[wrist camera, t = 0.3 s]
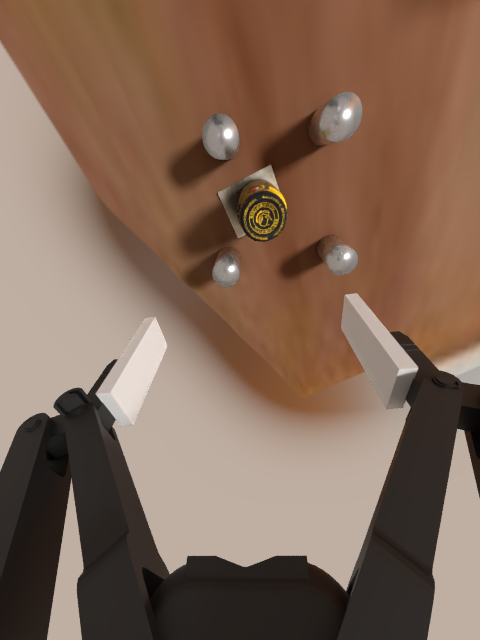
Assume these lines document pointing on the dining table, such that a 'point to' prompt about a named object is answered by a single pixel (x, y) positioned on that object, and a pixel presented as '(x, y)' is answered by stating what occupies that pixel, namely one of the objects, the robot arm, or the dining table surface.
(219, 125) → the cylinder
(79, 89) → the dining table surface
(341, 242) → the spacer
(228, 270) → the cylinder
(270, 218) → the condiment
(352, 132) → the cylinder
